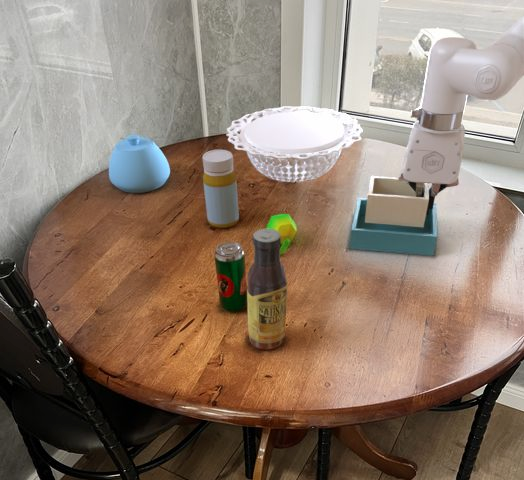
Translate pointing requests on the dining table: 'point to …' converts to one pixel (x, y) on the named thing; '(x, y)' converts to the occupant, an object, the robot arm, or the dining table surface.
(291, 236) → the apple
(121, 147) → the sugar bowl
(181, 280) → the dining table surface
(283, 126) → the white lattice bowl
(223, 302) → the soda can
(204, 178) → the bottle
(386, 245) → the bin
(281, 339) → the sauce bottle
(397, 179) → the lone bin
